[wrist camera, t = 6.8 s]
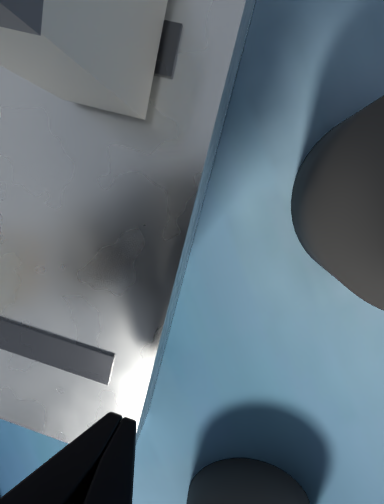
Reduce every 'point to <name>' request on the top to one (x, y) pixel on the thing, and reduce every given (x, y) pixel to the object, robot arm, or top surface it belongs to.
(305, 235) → the coil
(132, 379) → the panel
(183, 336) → the top surface
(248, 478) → the coil
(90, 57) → the switch
